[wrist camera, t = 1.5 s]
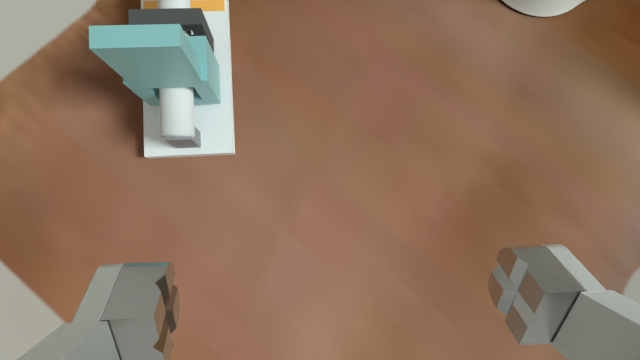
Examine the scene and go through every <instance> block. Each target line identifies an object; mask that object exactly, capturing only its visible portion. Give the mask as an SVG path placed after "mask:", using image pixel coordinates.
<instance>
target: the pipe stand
mask: <svg viewBox="0 0 640 360" xmlns="http://www.w3.org/2000/svg"><path fill="white" fill-rule="evenodd" d="M170 8H201V9H202V12H203V14H204V16H205V19H206V21H207V24H208V26H209V29H210V31H211V34H212V36H213V39H214V55H215V58H216V60H217V62H218V64H219V72H220V97H221V104H200V105H194V96H193V87H176V88H159V95H160V106H150V105H148V104H147V103H146V102H145V101H144V100H143V124H144V157H146V158H148V159H150V158H171V157H192V156H213V155H234V154H235V139H234V116H233V93H232V69H231V46H230V23H229V0H141V9H170ZM184 33H185V35H186V36H191V35H194V34H193V32H192V30H184Z"/></svg>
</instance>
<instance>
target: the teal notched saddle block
mask: <svg viewBox="0 0 640 360" xmlns="http://www.w3.org/2000/svg"><path fill="white" fill-rule="evenodd" d="M89 49H90V50H91V51H92V52H94V53H95V54H96V55H97V56H98V57H99V58H101V59H102V60H103V61H104V62H105V63H106V64H108V65H109V66H110V67H111V68H112V69H113V70H114V71H116V72H117V73H118V74H119V75H120V76H121V77H123V84H124V85H126V86H127V87H128V88H129V89H130V90H132V91H133V92H134V93H135V94H136V95H138V96H139V97H140V98H141V99H142V100H144V101H145V102H146V103H147V104H148V105H150V106H160V95H159V88H176V87H193V96H194V105H200V104H221V97H220V72H219V64H218V62H217V60H216V58H215V55H214V53H213V51H212V49H211V46H210V44H209V42H208V39H207V37H206V36H186V35H185V33H184V31H183V29H182V27H181V25H180V24H151V25H102V26H89Z"/></svg>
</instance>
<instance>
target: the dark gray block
mask: <svg viewBox="0 0 640 360" xmlns="http://www.w3.org/2000/svg"><path fill="white" fill-rule="evenodd" d="M128 22H129V25H151V24H180V25H181V27H182V29H183V31H184V30H192V32H193V34H194V35H191V36H206V37H207V39H208V42H209V44H210V46H211V49H212V51H213V53H214V39H213V36H212V34H211V31H210V29H209V26H208V24H207V21H206V19H205V16H204V14H203V12H202V9H201V8H170V9H128Z"/></svg>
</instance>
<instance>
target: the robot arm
mask: <svg viewBox="0 0 640 360" xmlns="http://www.w3.org/2000/svg"><path fill="white" fill-rule="evenodd" d="M502 1H503V2H504V3H506V4H507V5H509V6H510V7H512V8H514V9H515V10H518V11H520V12H522V13H525V14H528V15H533V16H540V17H548V16H555V15H559V14H563V13H565V12H567V11H569V10H571V9H573V8H574V7H576V6H577V5H579V4H580V3H582V2H583V1H585V0H502ZM497 261H498V263H499V266H498V267H496V268H495V269H494V270H493V271H492V272H491V275H490V278H489V293H490V296H491V299H492V301H493V303H494V304H495V306H496V308H498V309H499V310H501V311H502V312H503V313H505V314H506V321H505V323H506V324H507V326H508V328H509V329H510V331H511V332H512V334H513V336H514V337H515V339H516V341H517V342H518V344H519V345H527V344H548V343H552V346H553V347H554V348H556V349H557V350H558V351H559V352H561V353H562V354H563V355H564V356H566V357H567V358H568V359H569V360H640V304H638V303H636V302H634V301H632V300H630V299H628V298H626V297H624V296H622V295H620V294H619V293H617V292H615V291H613V290H606V289H605V288H604V287H603V286H602V285H601V284H600V283H599V282H598V281H597V280H596V279H595V278H594V277H593V276H592V274H591V273H590V272H589V271H588V270H587V269H586V268H585V267H584V266H583V265H582V264H581V263H580V262H579V261H578V260H577V258H576V257H575V256H574V255H573V254H572V253H571V252H570V251H569V250H568V249H567V248H566V247H565V246H563V245H561V244H551V245H540V246H538V245H536V246H518V247H504V248H503V249H501V250H500V251H499V254H498V256H497ZM174 276H175V272H174V268H173V264H172V263H171V262H157V263H125V264H102V265H101V266H100V267H99V268H98V269H97V270H96V272H95V274H94V276H93V278H92V280H91V282H90V285H89V287H88V289H87V291H86V293H85V295H84V297H83V299H82V301H81V303H80V306H79V308H78V310H77V312H76V314H75V316H74V318H73V320H72V322H71V323H68V324H63V325H61V326H60V327H59V328H58V329H56V330H55V331H54V332H52V333H51V334H50V335H48V336H47V337H46V338H45V339H43V340H42V341H41V342H40V343H38V344H37V345H35V346H34V347H33V348H32V349H30V350H29V351H28V352H26V353H25V354H24V355H22V356H21V357H20V358H19V359H17V360H170V357H171V352H172V348H173V343H172V338H171V334H172V333H173V332H174V331H175V330H176V329H177V323H178V318H179V293H178V288H177V287H176V286H174V285H173V281H174Z"/></svg>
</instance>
